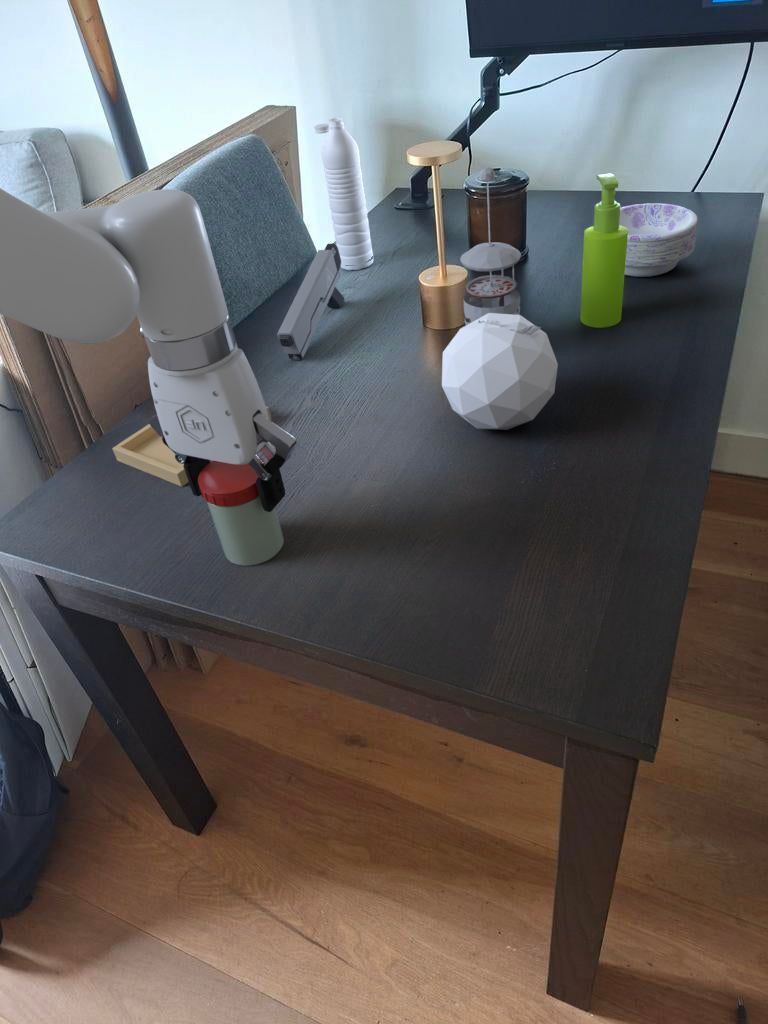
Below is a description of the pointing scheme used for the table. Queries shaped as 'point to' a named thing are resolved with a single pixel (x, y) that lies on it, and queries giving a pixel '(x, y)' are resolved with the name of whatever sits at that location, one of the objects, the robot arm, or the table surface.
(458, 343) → the geodesic sphere
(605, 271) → the soap dispenser
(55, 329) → the robot arm
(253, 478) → the jar lid
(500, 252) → the french press
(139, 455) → the tray
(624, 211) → the paper bowls
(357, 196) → the water bottle
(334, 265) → the gun
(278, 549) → the jam jar
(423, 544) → the table surface
